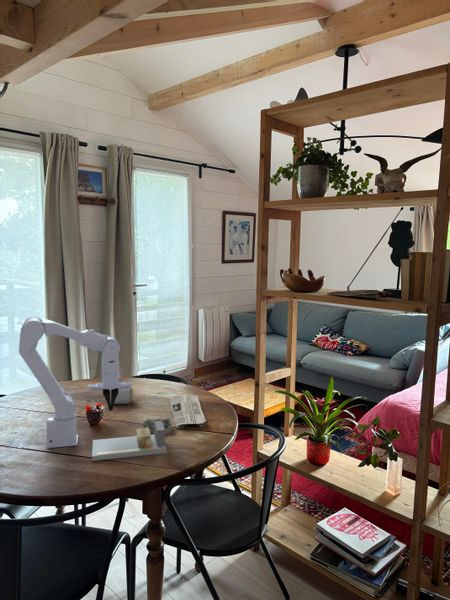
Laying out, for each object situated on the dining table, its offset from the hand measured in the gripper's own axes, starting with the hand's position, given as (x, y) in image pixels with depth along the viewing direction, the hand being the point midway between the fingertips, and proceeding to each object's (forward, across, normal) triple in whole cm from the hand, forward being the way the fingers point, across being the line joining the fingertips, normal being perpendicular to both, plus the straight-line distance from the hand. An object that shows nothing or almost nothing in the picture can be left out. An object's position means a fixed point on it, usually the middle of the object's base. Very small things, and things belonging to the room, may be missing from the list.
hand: (110, 409), depth 154 cm
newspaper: (+10, +31, +16) cm, 36 cm away
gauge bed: (+9, +6, -12) cm, 16 cm away
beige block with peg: (+8, +10, -13) cm, 18 cm away
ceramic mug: (+10, +5, +34) cm, 36 cm away
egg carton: (+10, +16, +1) cm, 19 cm away
